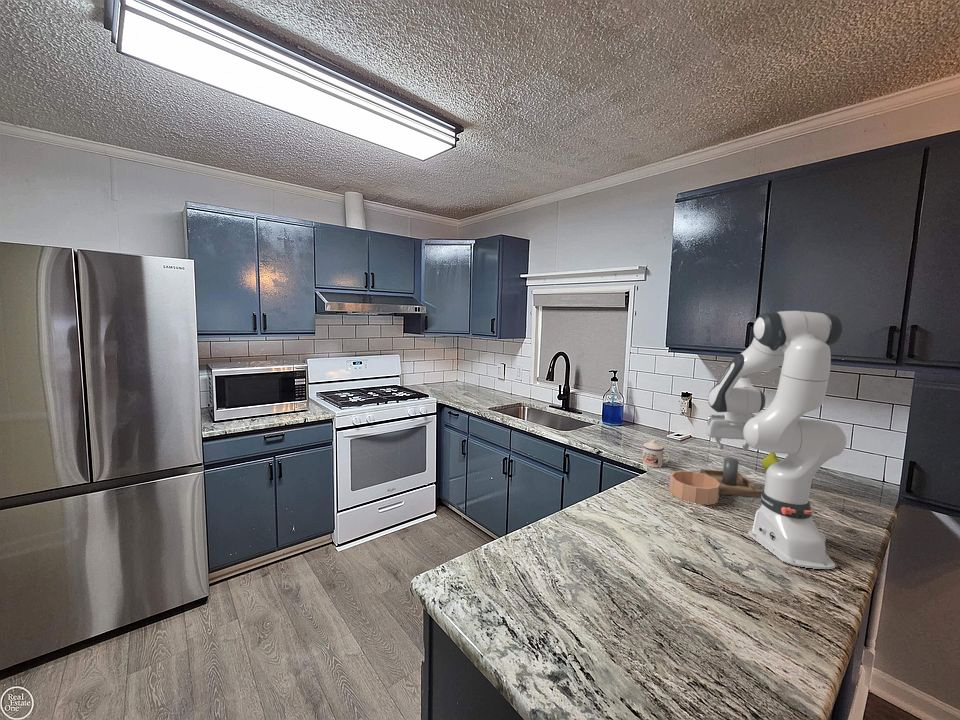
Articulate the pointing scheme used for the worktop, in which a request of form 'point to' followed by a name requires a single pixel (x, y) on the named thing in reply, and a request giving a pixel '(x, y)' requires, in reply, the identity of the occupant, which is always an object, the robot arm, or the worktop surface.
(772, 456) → the fruit
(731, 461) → the black canister
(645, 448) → the teacup with lid
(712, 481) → the terracotta bowl
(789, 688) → the worktop surface
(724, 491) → the walnut tray
